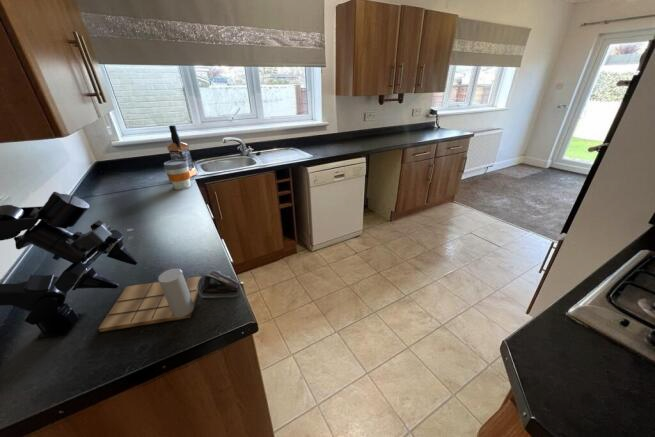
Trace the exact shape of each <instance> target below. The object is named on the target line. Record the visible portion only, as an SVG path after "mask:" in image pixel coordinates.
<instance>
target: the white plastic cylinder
mask: <svg viewBox="0 0 655 437" xmlns="http://www.w3.org/2000/svg"><path fill="white" fill-rule="evenodd" d="M185 278H186V277H185V275H184V272H183V270H181V269H180V268H171V269H167V270H165V271H163V272H162V273H161V274H160V275H159V276H158V278H157V280H158V282H159V283H160V285H161V288H162V290H163V293H164V295H165V298H166V300H167V302H168V305H169V307H170V310H171V312H172V315H173V316H174V317H184V316H186V315H188V314H189V313H191V312H192V310H193V311H194V308H195V306H194V304H193V301H192V298H191V296H190V293H189V290H188V287H187V284H186V281H185ZM192 313H193V312H192Z"/></svg>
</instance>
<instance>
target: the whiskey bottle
mask: <svg viewBox="0 0 655 437" xmlns="http://www.w3.org/2000/svg"><path fill="white" fill-rule="evenodd" d="M168 129H169V132H170V138H171V141H172V143H170V144H169V145H168V146H166V148H167V151H168V153H169V156H170V161H171V160H177V159H185V160H187V162H188V165H189V166H188V169H189V171H190V178H193V176H196V175H197V174H198V173H197V169H196V168H195V165H194V162H193V158H192V155H191V152H190V146H189V144H188V143H185V142H183V141H181V137H180V134H179V133H178V130H177V126H176V125H175V124H174V125H168Z"/></svg>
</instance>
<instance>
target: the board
mask: <svg viewBox="0 0 655 437" xmlns="http://www.w3.org/2000/svg"><path fill="white" fill-rule="evenodd" d="M184 278H185V281H186V284H187V287H188V290H189V293H190V296H191V298H192V301H193V304H194V307H195V305H196V303H197V300H198V297H199V293H198V289H197V286H198V282H199V279H200V278H201V275H200V276H194V277H187V278H186V277H184ZM193 312H194V309H193V310H192V312H191V313H189V314H188V315H186V316H184V317H174V316H173V315H172V312H171V310H170V307H169V305H168V302H167V300H166V298H165V295H164V293H163V290H162V288H161V285H160V283H159V281H157V282H149V283H142V284H134V285H128V286H125V288H124V289H123V291H122V292H121V293H120V295H119V297H118V298H117V300H116V301H115V302H114V304H113V306H112V307H111V309H110V310H109V312H107V315H106V316H105V318H103V320H102V322H101V324H99V326H98V328H97V330H98V332H99V333H102V332H109V331H116V330H121V329H127V328H134V327H140V326H146V325H152V324H159V323H164V322H165V323H166V322H170V321H178V320H184V319H191V318H192V315H193Z"/></svg>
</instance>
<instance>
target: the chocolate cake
mask: <svg viewBox="0 0 655 437" xmlns="http://www.w3.org/2000/svg"><path fill="white" fill-rule="evenodd" d="M200 276H201V278H200V279H199V282H198V286H197V289H198V296H199V297H200V298H202V299H208V298H209V299H214V298H236V297H238V296H239V295H240V294H239V293H240V290H239V286H240V284H239V282H238V281H237V280H235V279H233V278H231V276H230V275H225V274H222V272H221V271H220V270H216V269H213V270H211V271H210V272H209V273H208V274H206V273H202V272H201V273H200Z"/></svg>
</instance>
